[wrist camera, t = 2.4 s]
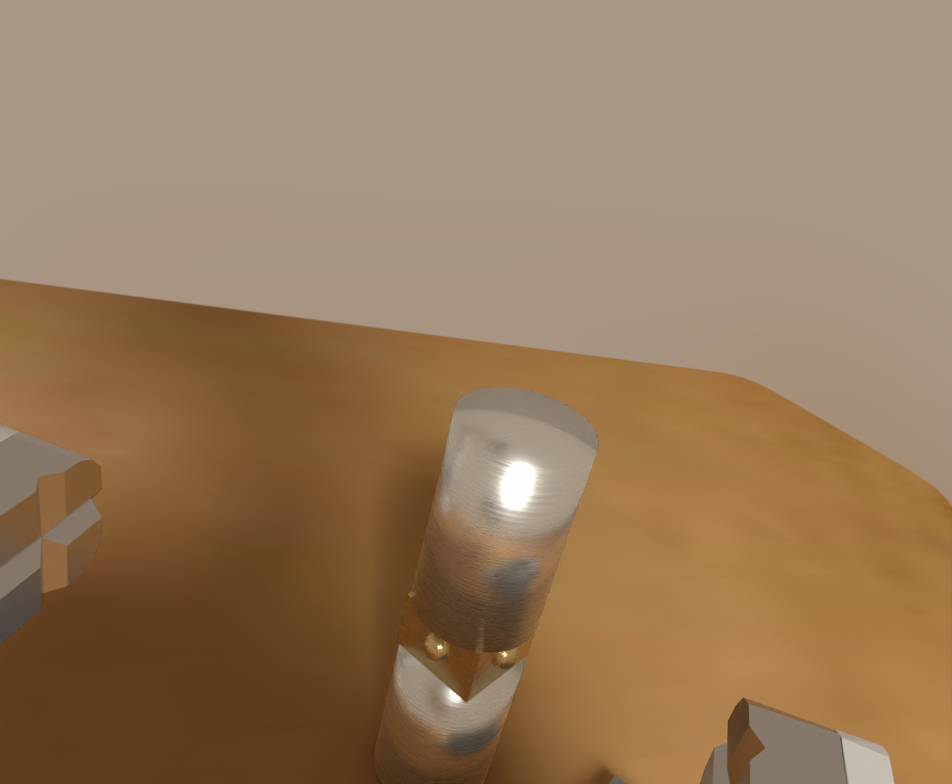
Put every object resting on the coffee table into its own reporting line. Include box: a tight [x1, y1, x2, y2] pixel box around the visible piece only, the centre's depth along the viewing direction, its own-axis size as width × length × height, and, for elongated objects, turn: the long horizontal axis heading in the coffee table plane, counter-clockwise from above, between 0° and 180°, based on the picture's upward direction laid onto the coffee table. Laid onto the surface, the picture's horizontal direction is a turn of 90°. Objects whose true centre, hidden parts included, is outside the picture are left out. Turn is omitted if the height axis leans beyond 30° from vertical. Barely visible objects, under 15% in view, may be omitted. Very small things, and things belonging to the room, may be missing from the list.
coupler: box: [373, 387, 599, 784], centre depth 26 cm, size 4×4×14 cm
